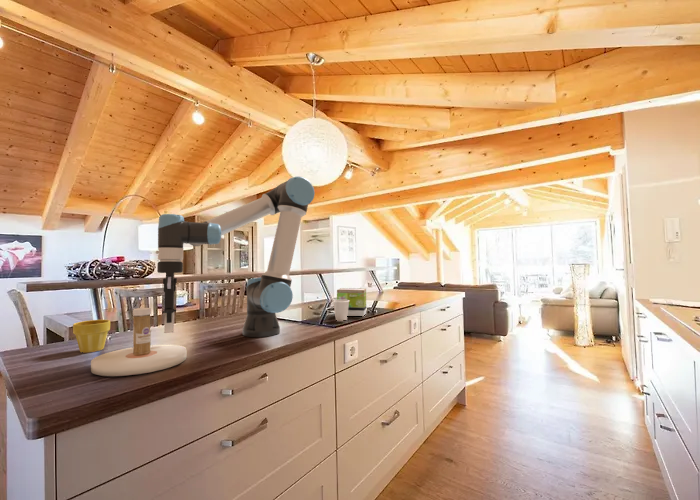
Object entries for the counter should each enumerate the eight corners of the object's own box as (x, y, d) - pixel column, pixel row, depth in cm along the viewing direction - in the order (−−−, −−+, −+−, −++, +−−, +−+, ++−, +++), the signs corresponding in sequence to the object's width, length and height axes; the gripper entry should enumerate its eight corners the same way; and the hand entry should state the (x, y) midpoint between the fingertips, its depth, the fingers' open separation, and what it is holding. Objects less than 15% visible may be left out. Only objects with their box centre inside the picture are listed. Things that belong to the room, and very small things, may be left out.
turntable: (186, 348, 118) (187, 326, 118) (186, 368, 96) (186, 341, 96) (102, 357, 108) (102, 333, 108) (79, 381, 86) (79, 351, 86)
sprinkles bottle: (142, 356, 99) (142, 309, 100) (128, 355, 100) (128, 309, 101) (154, 352, 104) (154, 307, 104) (141, 351, 105) (141, 307, 105)
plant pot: (90, 354, 113) (90, 325, 114) (64, 353, 116) (65, 324, 116) (117, 347, 124) (117, 319, 124) (93, 346, 126) (93, 319, 126)
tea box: (336, 317, 184) (336, 289, 185) (340, 314, 194) (339, 287, 195) (364, 317, 182) (364, 289, 182) (366, 314, 192) (366, 287, 192)
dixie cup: (331, 321, 170) (331, 301, 170) (334, 318, 178) (334, 299, 178) (348, 321, 169) (348, 301, 169) (350, 319, 177) (350, 299, 177)
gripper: (159, 261, 119) (157, 329, 118) (155, 260, 107) (154, 337, 106) (183, 261, 122) (182, 328, 121) (182, 260, 110) (181, 335, 109)
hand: (169, 332), depth 114 cm, fingers closed
